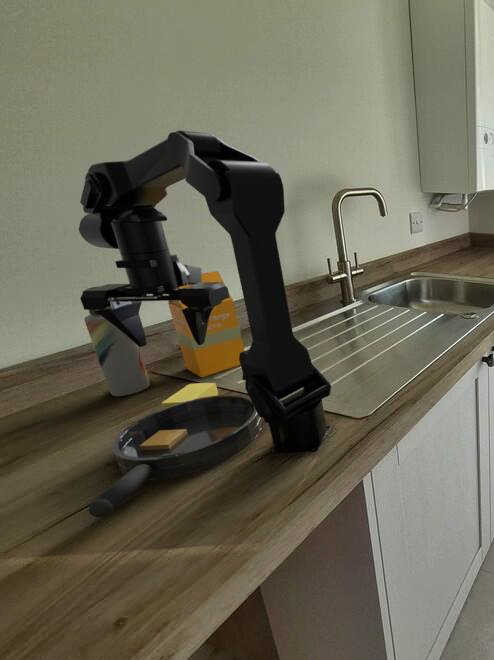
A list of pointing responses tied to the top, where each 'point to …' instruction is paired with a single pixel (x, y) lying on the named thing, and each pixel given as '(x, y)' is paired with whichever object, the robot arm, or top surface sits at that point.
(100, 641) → the top surface
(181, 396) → the sponge
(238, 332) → the orange juice
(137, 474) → the pan handle
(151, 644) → the top surface
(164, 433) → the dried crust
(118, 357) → the lotion bottle
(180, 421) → the pan
